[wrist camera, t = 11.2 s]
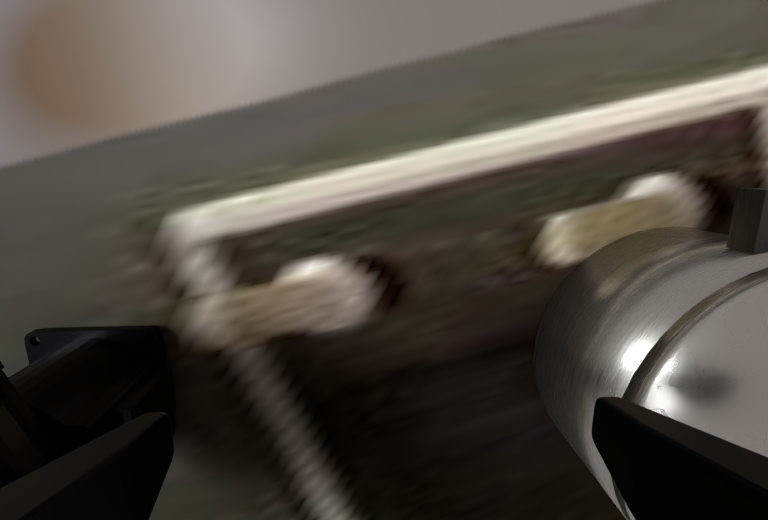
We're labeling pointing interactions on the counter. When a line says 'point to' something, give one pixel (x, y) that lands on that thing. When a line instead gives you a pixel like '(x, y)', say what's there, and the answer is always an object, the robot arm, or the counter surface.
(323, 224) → the counter surface
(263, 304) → the counter surface
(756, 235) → the cooker pot
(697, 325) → the cooker lid
